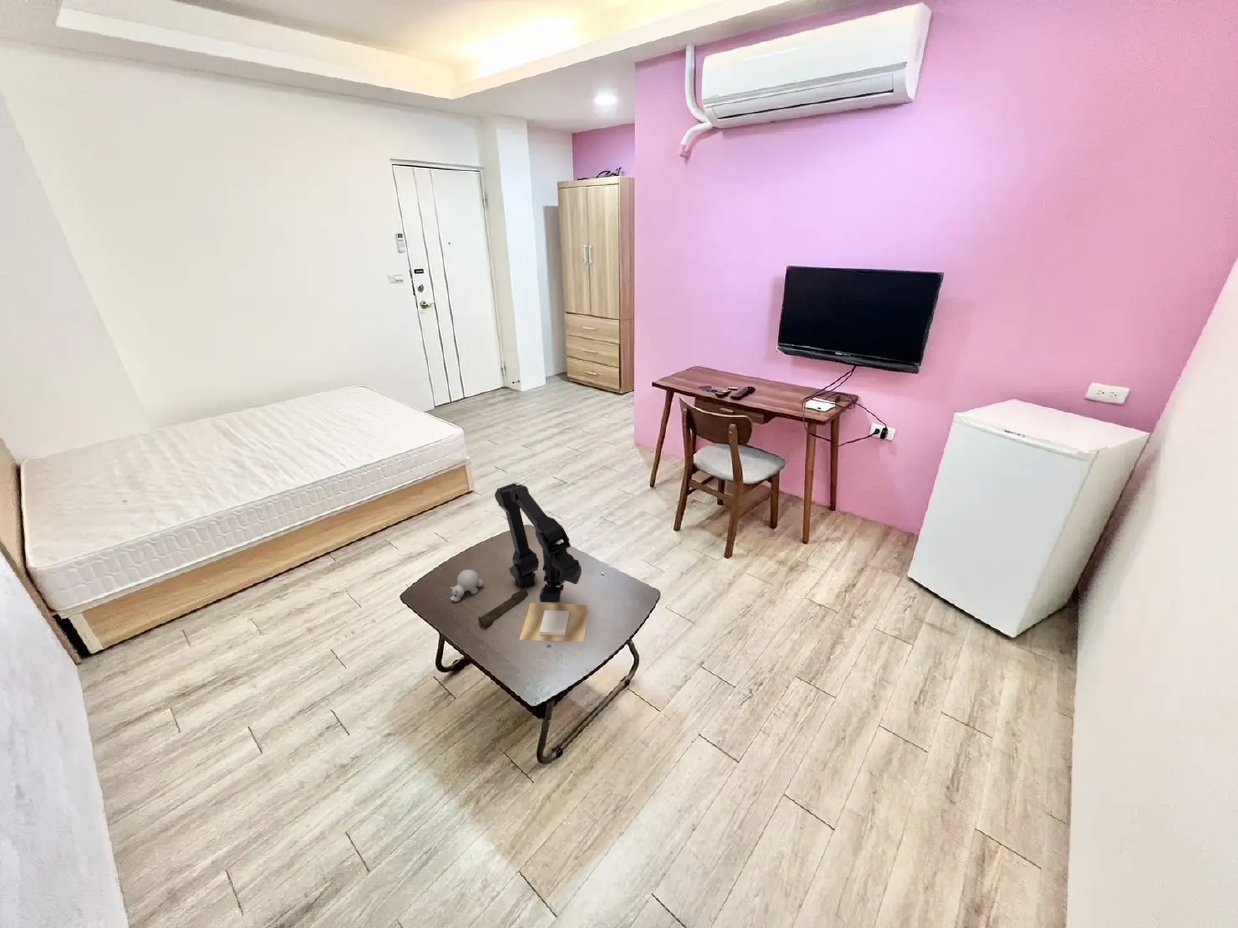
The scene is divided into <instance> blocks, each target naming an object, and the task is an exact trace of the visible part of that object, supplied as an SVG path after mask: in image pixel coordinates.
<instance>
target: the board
mask: <svg viewBox="0 0 1238 928" xmlns="http://www.w3.org/2000/svg"><path fill="white" fill-rule="evenodd" d="M589 607H590V605H589V604H573V603H571V604H570V603H546V602H540V603H539V602H537V603H536V602H530V604H529V606H528V610H527V613H526V616H525V619H524V622H523V623H524V624H523V627H522V628H521V629H522V630H521V633H520V637H519V639H518V640H520V641H544V642H545V641H546V642H548V641H549V642H570V643H571V642H572V643H573V642H574V643H576V642H577V643H584V641H585V637H586V636H585V634H586V629H587V622H588V614H589ZM545 610H550V611H569V619H568V624H567V630H566V635H565V636H542V635H540V633H539V631H540V627H541V623H542V619H543V615H544V611H545Z"/></svg>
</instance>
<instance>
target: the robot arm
mask: <svg viewBox="0 0 1238 928" xmlns="http://www.w3.org/2000/svg"><path fill="white" fill-rule="evenodd" d="M494 498H495V501H496V502H497V504H498V506H499V507H500V508H501V509H502V511H504V512H505V515H506V516H505V517H506V519H507V520H506V521H507V522H508V526H509V527H508V528H509V531H510V535H511V539H512V543H513V547H514V548H513V549H514V553H513V555H512V558H511V559H512V564H513V565H512V566H510V567H509V568H508V569H509V573H510V575H511V576H512V577H513V578H514V581H515V587H518V588H520V589H529V588H530V587H535V586H536V583H537V575H536V573H535V571H538V570H539V564H540V561H539V558H538V555H537V553H536V552H534V551H533V550H532V549H531V548H530V546H529V540H528V538H527V534H526V530H525V529H526V528H525V526H524V525H525V524H524V521H523V517H522V513H521V511H522V512H523V514H525V517H527V519H528V520H529V522H530V523H531V524H532V526H533V527H534V529H535V530H534V531H535V532H534V533H535V537H536V539H537V541H538V544H539V545H540V546H541V548H542V556H543V557H542V558H543V566H542V571H543V572H544V577H543V581H544V582H546V583H544V586H542V588H541V589H540V592H539V602H540V603H551V604H559V603H560V602H561V599H562V594H563V590H564V585H565V584H564V583H565V582H568V583H571V584H573V585H578V583H579V581H580V578H581V575H582V565H580V561H579V560H578V559H575V557H574V556H573V555H572V554H570V553H569V552H568V551H567V550H568V549H569V548H570V547H571V543H570V538H569V536H568V534H567V533H566V530H565V527H563V525H561V524H560V523H559V522H558V521H557V520H556V519H555V518H554V517H550V516H548V515H547V514H546V513H545V512H544V511H543V509H542V508H541V507H540V505H539V504H538V503H537V501H536V500H535V499H534V498H533V496H532V495H531V494H530V492H529V489H528V487H527V486H525V485H524V484H517V483H515V482H512V483H509V484H507V485H505V486H501V487H499V488H496V491H495V492H494ZM561 541H562V542H561ZM559 542H560V543H559Z"/></svg>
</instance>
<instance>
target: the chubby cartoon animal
mask: <svg viewBox="0 0 1238 928" xmlns="http://www.w3.org/2000/svg"><path fill="white" fill-rule="evenodd" d="M484 582H485V581H484V580H483V579H481V578H479V575H478V573H477V572H476V570H472V569H464V570H462V571H461V572H460V573H459V574H458V576H457V579H456V583H457V584H456V585H454V586H450V589H451V593H452V596H450V597H449V598H450V600H451V601H453V602H456V603H457V602H459V601H460V600H461V599H462V597H463V596H464V595H465V592H467V591H469V593H471V594H472V595H476V594H477V593H478V590H479V589H478V588H481V587H483V585H484Z"/></svg>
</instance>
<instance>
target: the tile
mask: <svg viewBox="0 0 1238 928" xmlns="http://www.w3.org/2000/svg"><path fill="white" fill-rule="evenodd" d="M568 619H569V611H550V610H545V611H544V615H543V619H542V623H541V627H540V631H539V633H540V635H542V636H565V635H566V630H567V624H568Z"/></svg>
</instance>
